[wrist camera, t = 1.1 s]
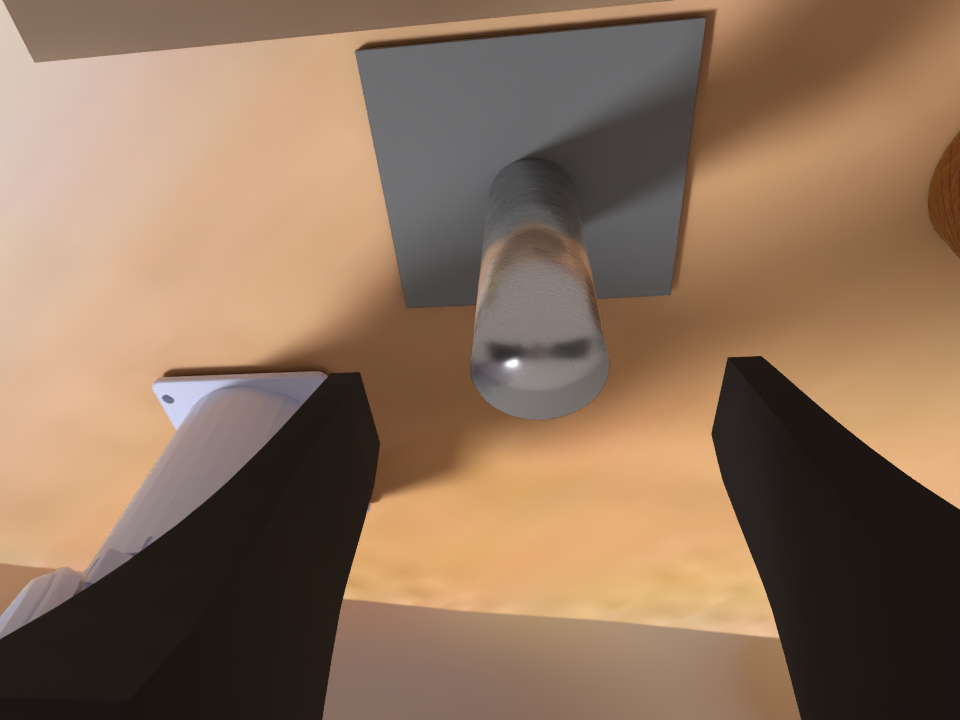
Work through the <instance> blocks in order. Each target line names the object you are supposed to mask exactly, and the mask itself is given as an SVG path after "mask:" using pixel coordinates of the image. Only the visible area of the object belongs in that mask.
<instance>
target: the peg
mask: <svg viewBox="0 0 960 720" xmlns="http://www.w3.org/2000/svg"><path fill="white" fill-rule="evenodd" d="M470 372H471V377H472V381H473V383H474V386H475V387H476V389H477V391H478V392H479V394H480V395H481V396H482V397H483V398H484V399H485V400H486V401H487V402H488V403H489V404H490V405H492V406H493V407H495V408H496V409H498V410H500V411H502V412H504V413H506V414H509V415H512V416H515V417H519V418H524V419H532V420H543V419H552V418H558V417H562V416H565V415H568V414H571V413H573V412H575V411H577V410H579V409H581V408H583V407H584V406H586V405H587V404H588V403H590V402H591V401H592V400H593V399H594V398H595V397H596V396H597V395H598V394H599V392H600V391H601V390H602V388H603V386H604V384H605V382H606V380H607V377H608V373H609V357H608V352H607V346H606V341H605V336H604V331H603V326H602V321H601V316H600V311H599V306H598V301H597V296H596V291H595V286H594V281H593V276H592V271H591V266H590V261H589V256H588V250H587V245H586V240H585V235H584V230H583V225H582V220H581V215H580V210H579V205H578V200H577V195H576V190H575V186H574V183H573V181H572V179H571V177H570V176H569V175H568V173H567V172H566V171H565V170H564V169H563V168H562V167H561V166H559V165H558V164H556V163H554V162H552V161H550V160H547V159H543V158H524V159H520V160H517V161H515V162H512V163H510V164H509V165H507V166H506V167H504V168H503V169H502V170H501V171H500V172H499V173H498V174H497V176H496V177H495V178H494V180H493V182H492V184H491V186H490V189H489V192H488V199H487V209H486V219H485V228H484V238H483V247H482V257H481V267H480V276H479V286H478V295H477V305H476V314H475V324H474V334H473V343H472V353H471V362H470Z"/></svg>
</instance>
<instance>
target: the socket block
mask: <svg viewBox="0 0 960 720" xmlns="http://www.w3.org/2000/svg"><path fill="white" fill-rule="evenodd" d="M661 1H671V0H3V2H4V4H5V6H6V8H7V10H8V12H9V13H10V15H11V17H12V19H13V21H14V23H15V25H16V27H17V29H18V31H19V33H20V35H21V37H22V39H23V41H24V43H25V45H26V47H27V49H28V51H29V53H30V54H31V56H32V58H33V60H34V62H35V63H36V62H46V61H56V60H67V59H77V58H87V57H97V56H108V55H118V54H128V53H138V52H149V51H159V50H169V49H179V48H190V47H200V46H210V45H220V44H231V43H241V42H251V41H261V40H271V39H282V38H292V37H302V36H312V35H323V34H333V33H343V32H353V31H364V30H374V29H384V28H394V27H405V26H415V25H425V24H435V23H446V22H456V21H466V20H476V19H487V18H497V17H507V16H517V15H528V14H538V13H548V12H558V11H569V10H579V9H589V8H599V7H610V6H620V5H630V4H640V3H651V2H661Z"/></svg>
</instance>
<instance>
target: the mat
mask: <svg viewBox="0 0 960 720" xmlns="http://www.w3.org/2000/svg"><path fill="white" fill-rule="evenodd" d="M705 22H706V18H705V17H693V18H683V19H672V20H661V21H651V22H640V23H630V24H619V25H608V26H598V27H587V28H577V29H566V30H556V31H545V32H534V33H524V34H513V35H503V36H492V37H481V38H471V39H460V40H450V41H439V42H429V43H418V44H407V45H397V46H386V47H376V48H365V49H357V50H356V51H355V54H356V59H357V64H358V69H359V74H360V79H361V84H362V89H363V94H364V99H365V104H366V109H367V114H368V119H369V123H370V128H371V133H372V138H373V143H374V148H375V153H376V158H377V163H378V168H379V173H380V178H381V183H382V188H383V193H384V198H385V203H386V208H387V213H388V218H389V223H390V228H391V233H392V238H393V243H394V248H395V253H396V257H397V262H398V267H399V272H400V277H401V282H402V287H403V292H404V297H405V302H406V307H407V308H418V307H438V306H459V305H477V295H478V286H479V276H480V267H481V257H482V247H483V238H484V228H485V219H486V209H487V199H488V192H489V189H490V186H491V184H492V182H493V180H494V178H495V177H496V176H497V174H498V173H499V172H500V171H501V170H502V169H503V168H504V167H506V166H507V165H509V164H510V163H512V162H515V161H517V160H520V159H524V158H543V159H547V160H550V161H552V162H554V163H556V164H558V165H559V166H561V167H562V168H563V169H564V170H565V171H566V172H567V173H568V175H569V176H570V177H571V179H572V181H573V183H574V186H575V190H576V195H577V200H578V205H579V210H580V215H581V220H582V225H583V230H584V235H585V240H586V245H587V250H588V256H589V261H590V266H591V271H592V276H593V281H594V286H595V291H596V296H597V299H600V298H621V297H641V296H661V295H670V293H671V286H672V278H673V270H674V262H675V255H676V247H677V239H678V231H679V224H680V216H681V208H682V200H683V193H684V185H685V177H686V169H687V162H688V154H689V146H690V138H691V131H692V123H693V115H694V107H695V100H696V92H697V84H698V76H699V68H700V61H701V53H702V45H703V37H704V30H705Z"/></svg>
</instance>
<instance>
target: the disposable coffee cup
mask: <svg viewBox="0 0 960 720" xmlns="http://www.w3.org/2000/svg"><path fill="white" fill-rule="evenodd" d="M928 207H929V215H930V219H931V222H932V224H933V226H934V228H935V230H936V232H937V233H938V234H939V235H940V236H941V237H942V238H943V239H944V241H945V242H946V243H947V244H948V245H949V246H950V247H951V249H952V250H953V251H954V252H955V253H956V254H957V256H958V257H959V258H960V132H959V133H958V134H957V136H956V137H955V138H954V140H953V141H952V142H951V144H950V145H949V147H948V148H947V149H946V151H945V152H944V154H943V156H942V158H941V160H940V162H939V163H938V165H937V167H936V170H935V173H934V176H933V179H932V181H931V184H930V190H929V198H928Z"/></svg>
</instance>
